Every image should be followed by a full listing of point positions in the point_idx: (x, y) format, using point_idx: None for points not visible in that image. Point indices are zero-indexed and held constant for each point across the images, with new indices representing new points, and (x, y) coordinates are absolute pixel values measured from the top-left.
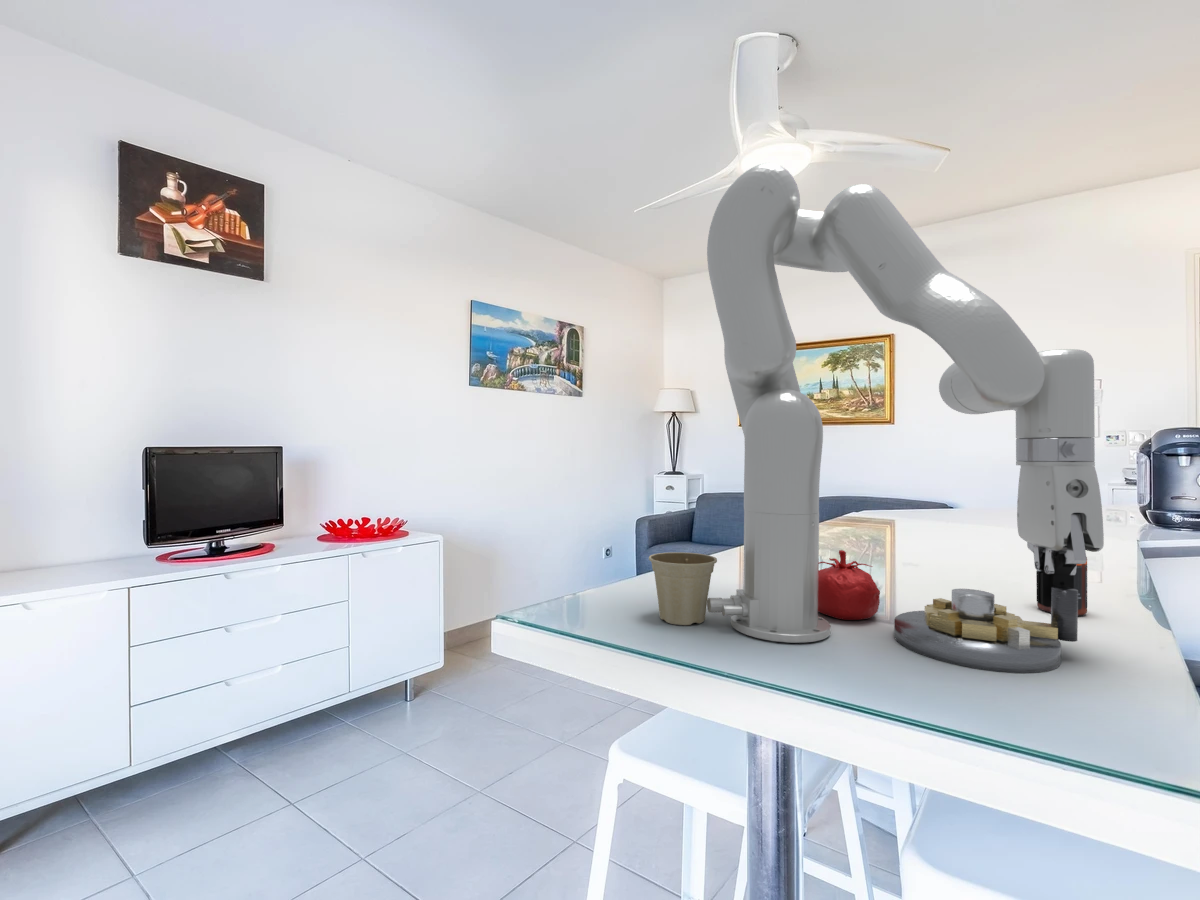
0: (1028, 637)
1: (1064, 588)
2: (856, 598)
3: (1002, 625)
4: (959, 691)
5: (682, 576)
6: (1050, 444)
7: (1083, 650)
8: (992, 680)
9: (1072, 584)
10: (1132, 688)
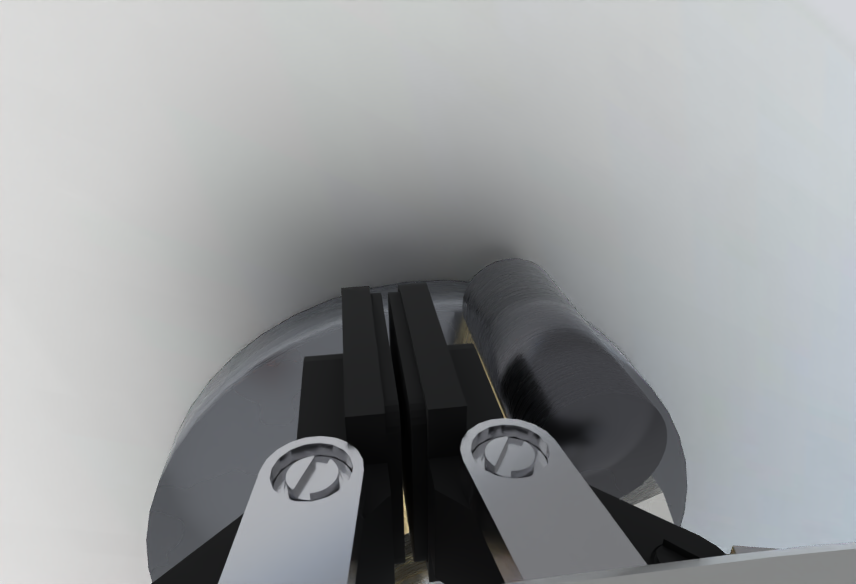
0: (650, 477)
1: (588, 450)
2: None
3: None
4: None
5: None
6: None
7: (347, 134)
8: (712, 511)
9: (446, 361)
10: (763, 183)
